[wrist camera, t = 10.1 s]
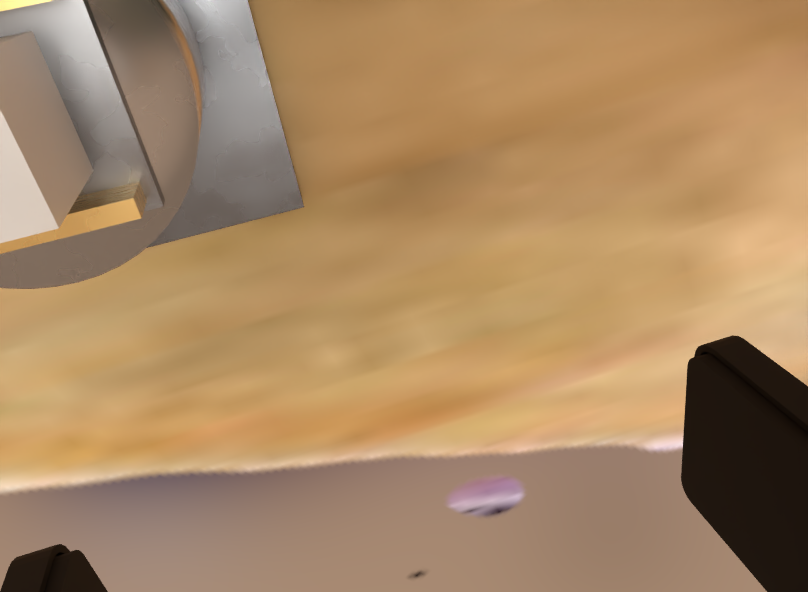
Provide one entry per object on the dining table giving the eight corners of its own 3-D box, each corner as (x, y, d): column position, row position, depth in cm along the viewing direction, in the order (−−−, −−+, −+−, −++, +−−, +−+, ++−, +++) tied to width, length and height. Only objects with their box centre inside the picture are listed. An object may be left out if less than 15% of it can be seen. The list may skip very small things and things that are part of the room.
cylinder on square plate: (191, -204, 30) (169, -315, 17) (301, 198, 40) (336, 308, 27) (-284, -123, 27) (-700, -184, 15) (-39, 285, 37) (-167, 449, 25)
